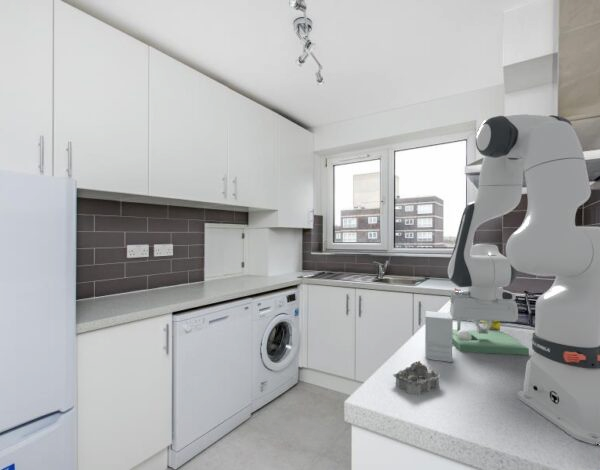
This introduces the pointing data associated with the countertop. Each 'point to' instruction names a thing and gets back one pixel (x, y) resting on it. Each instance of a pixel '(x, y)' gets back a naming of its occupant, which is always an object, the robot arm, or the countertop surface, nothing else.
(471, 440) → the countertop surface
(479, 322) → the robot arm
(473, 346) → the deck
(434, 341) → the supplement box
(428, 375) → the egg carton
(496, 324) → the supplement bottle
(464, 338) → the ball
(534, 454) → the countertop surface
